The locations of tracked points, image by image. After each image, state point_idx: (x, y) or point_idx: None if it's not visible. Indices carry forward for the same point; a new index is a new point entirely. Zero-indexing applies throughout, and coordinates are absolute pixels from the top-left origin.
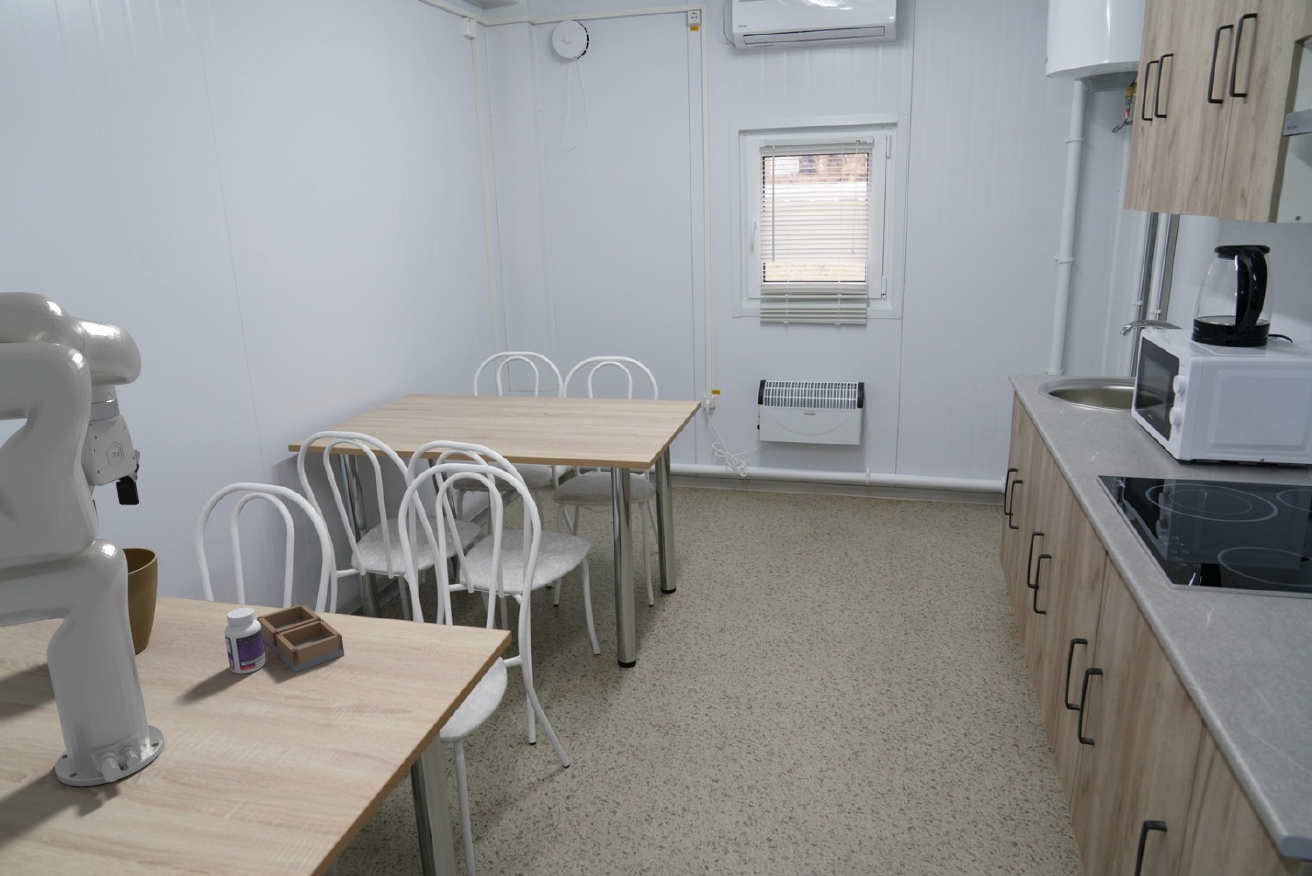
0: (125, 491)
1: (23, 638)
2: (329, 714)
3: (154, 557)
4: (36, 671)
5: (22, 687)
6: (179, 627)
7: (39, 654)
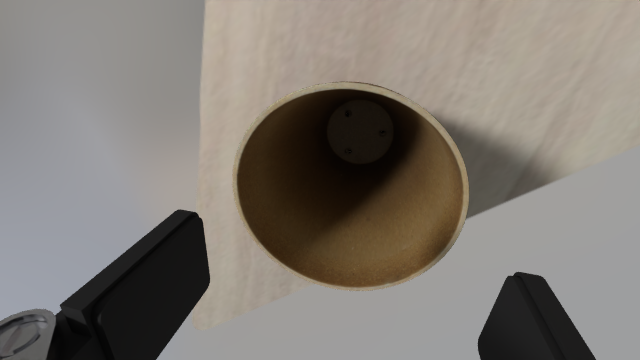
0: (159, 307)
1: None
2: None
3: (298, 96)
4: None
5: None
6: (287, 80)
7: None
